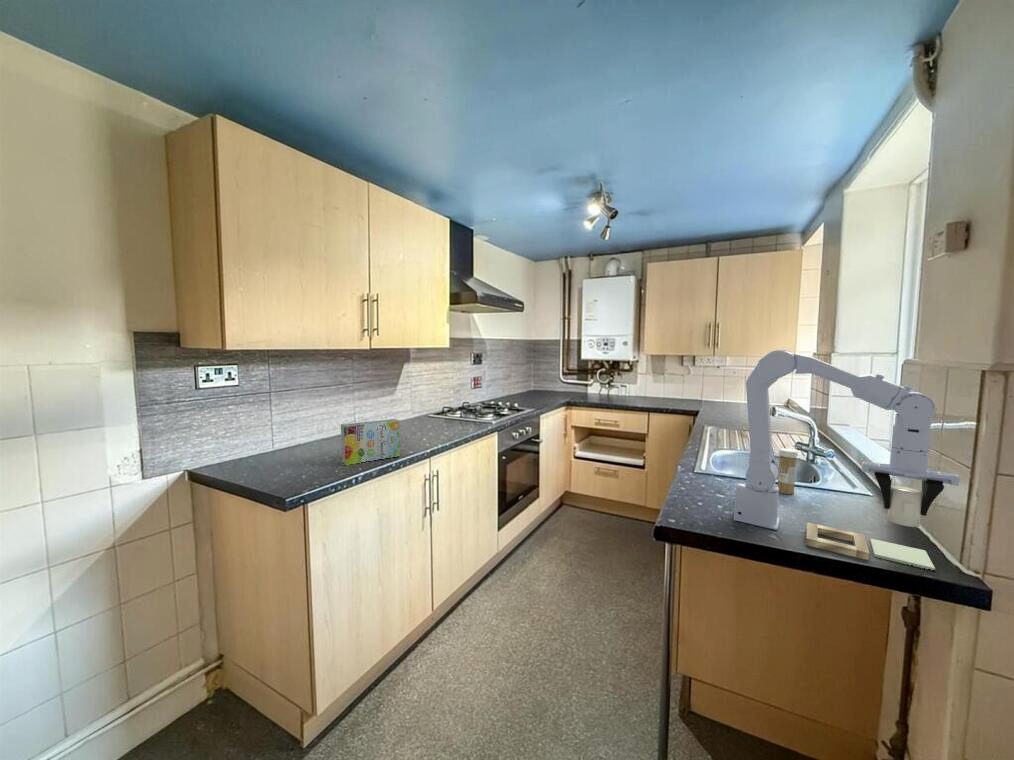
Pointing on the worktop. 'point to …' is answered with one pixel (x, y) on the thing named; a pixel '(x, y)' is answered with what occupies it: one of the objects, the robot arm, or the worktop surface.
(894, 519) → the jug
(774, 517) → the robot arm
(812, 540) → the collar
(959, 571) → the worktop surface
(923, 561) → the sage board
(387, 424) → the snack box
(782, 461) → the sprinkles bottle
